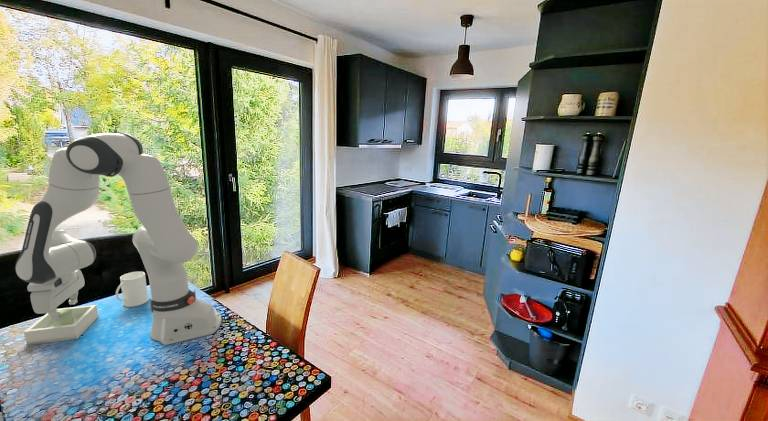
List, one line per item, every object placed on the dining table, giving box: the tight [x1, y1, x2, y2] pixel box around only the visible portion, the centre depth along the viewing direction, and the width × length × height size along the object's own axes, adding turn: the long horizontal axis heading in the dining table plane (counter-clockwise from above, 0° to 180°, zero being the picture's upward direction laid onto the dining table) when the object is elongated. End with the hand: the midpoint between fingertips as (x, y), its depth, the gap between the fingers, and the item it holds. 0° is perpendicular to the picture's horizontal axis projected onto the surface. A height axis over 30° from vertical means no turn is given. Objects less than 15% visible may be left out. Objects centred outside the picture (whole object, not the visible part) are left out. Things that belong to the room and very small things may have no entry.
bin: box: [23, 304, 99, 346], centre depth 109 cm, size 13×14×5 cm
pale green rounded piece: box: [52, 309, 74, 327], centre depth 108 cm, size 5×5×6 cm
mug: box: [115, 271, 150, 308], centre depth 127 cm, size 12×8×12 cm
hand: (65, 310), depth 109 cm, fingers open, 8 cm apart
